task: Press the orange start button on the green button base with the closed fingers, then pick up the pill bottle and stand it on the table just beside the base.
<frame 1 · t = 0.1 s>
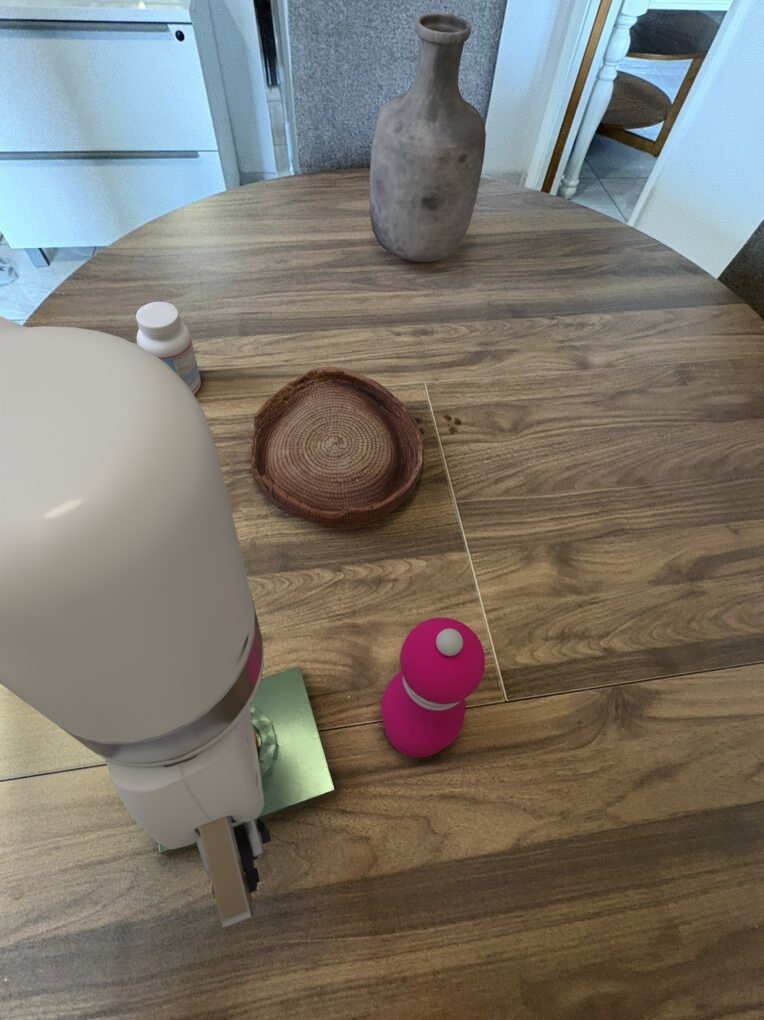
hand: (224, 758, 36), 18 cm above the table, tool pointing down, fingers open, 9 cm apart
basket: (336, 459, 74), on the table
pill bottle: (177, 387, 79), on the table
vase: (415, 250, 99), on the table
start button: (232, 744, 50), point 5 cm above the table, slide at 0.1 cm
pepper mill: (417, 723, 57), on the table
green button base: (239, 759, 54), on the table
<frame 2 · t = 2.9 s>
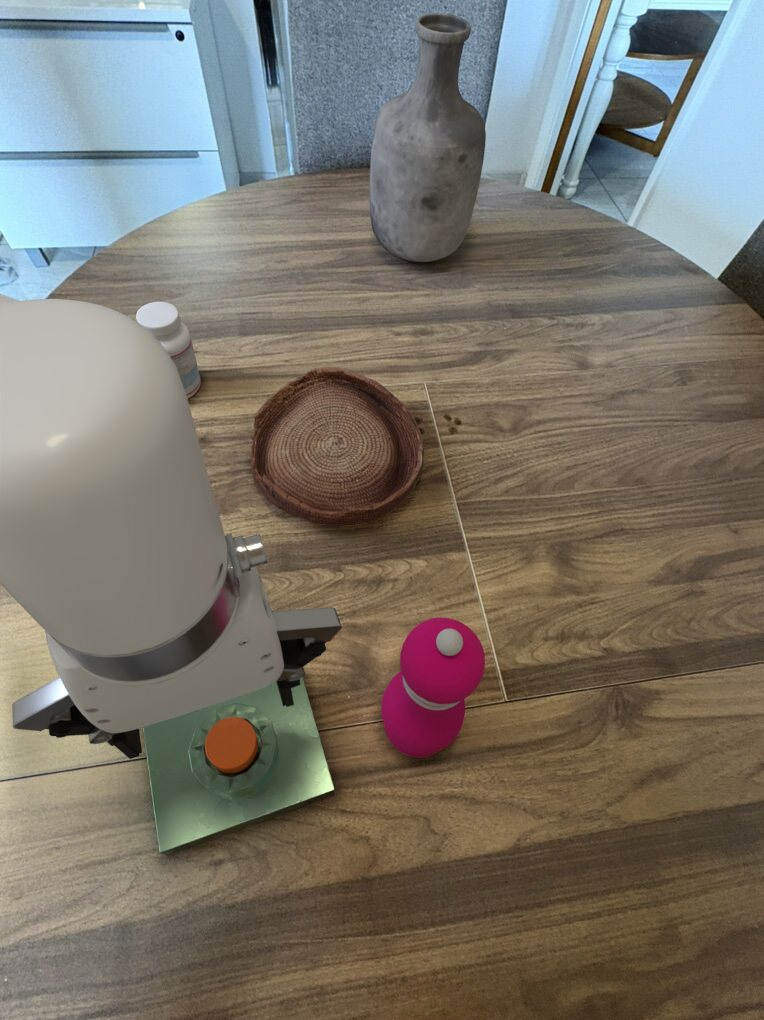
hand: (210, 708, 40), 17 cm above the table, tool pointing down, fingers open, 9 cm apart
nothing on the table moved.
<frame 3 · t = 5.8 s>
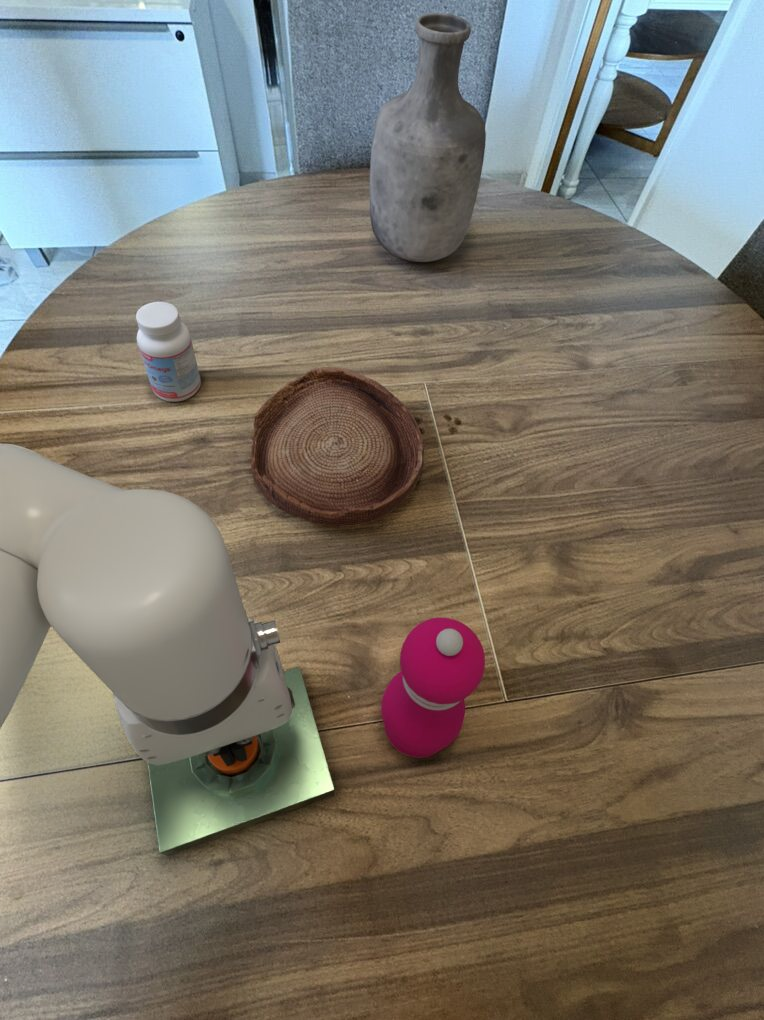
hand: (233, 744, 49), 5 cm above the table, tool pointing down, fingers closed
start button: (232, 746, 50), point 4 cm above the table, slide at -0.5 cm, touching gripper
everything else where it was.
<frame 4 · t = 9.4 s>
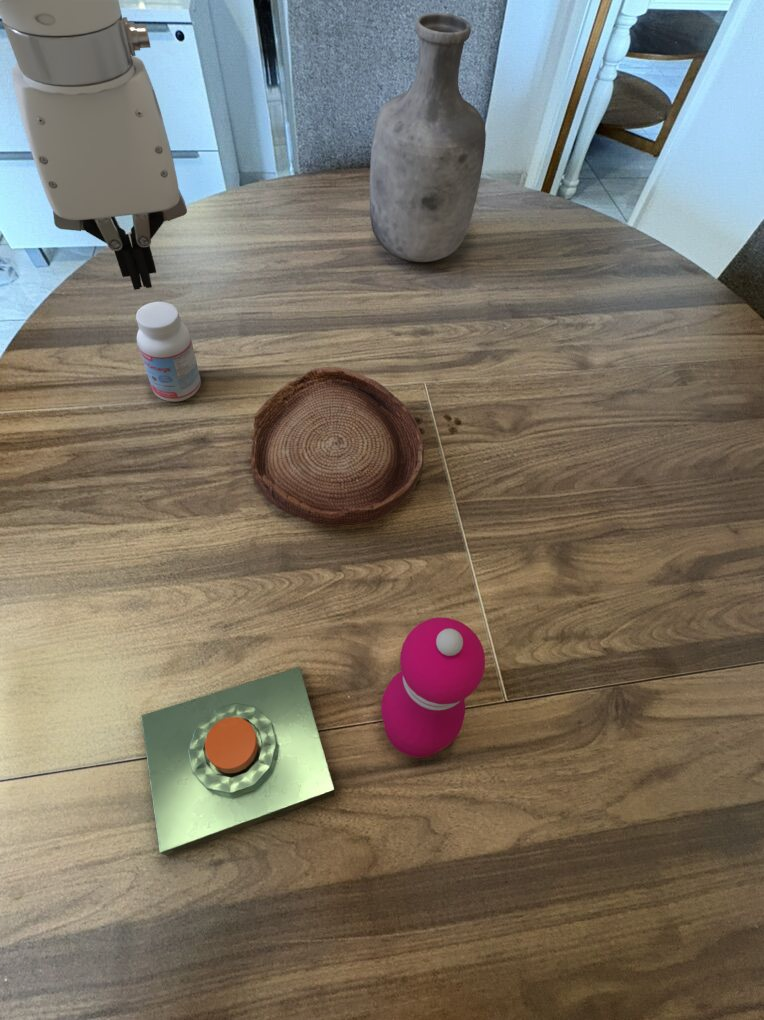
hand: (141, 279, 57), 21 cm above the table, tool pointing down, fingers closed
start button: (232, 744, 50), point 5 cm above the table, slide at 0.1 cm
everything else where it was.
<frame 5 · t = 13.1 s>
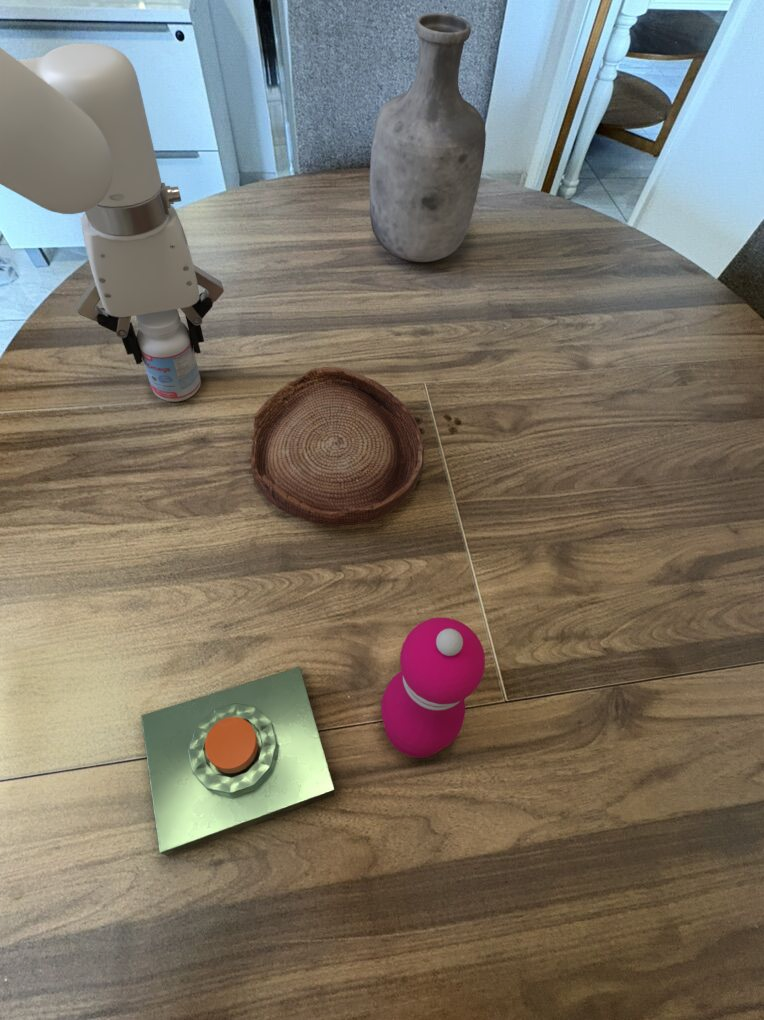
hand: (167, 349, 73), 6 cm above the table, tool pointing down, fingers closed on pill bottle, 6 cm apart
pill bottle: (177, 387, 79), on the table, touching gripper
everything else where it was.
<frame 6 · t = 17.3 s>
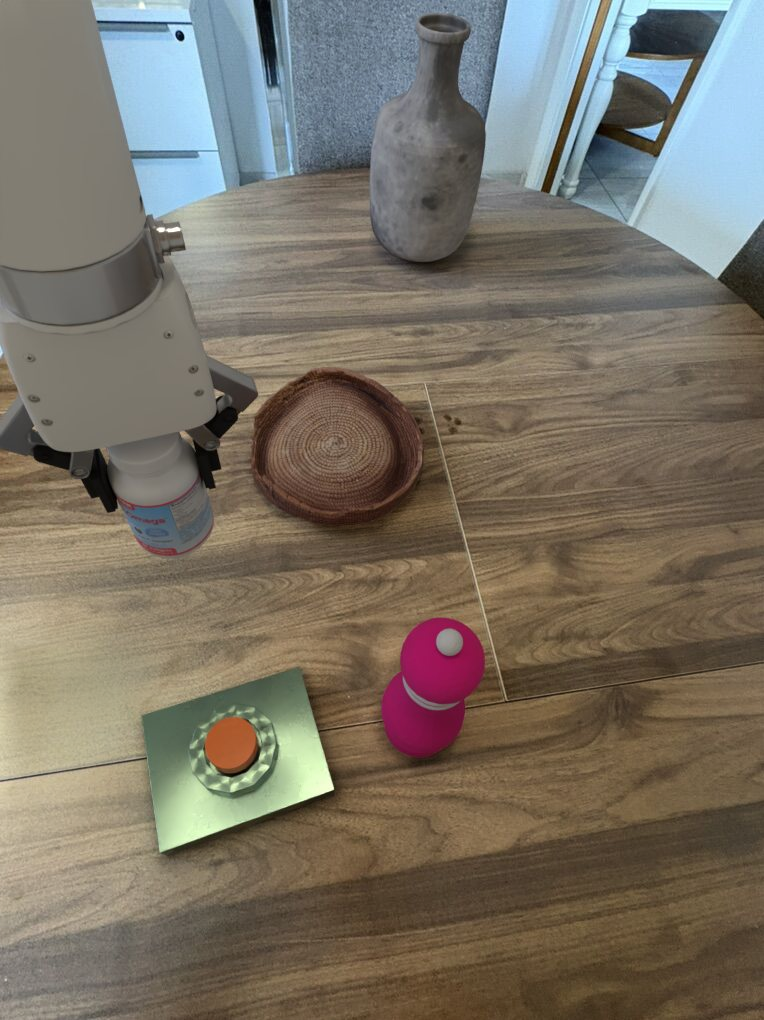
hand: (159, 483, 44), 21 cm above the table, tool pointing down, fingers closed on pill bottle, 6 cm apart
pill bottle: (177, 530, 49), point 15 cm above the table, touching gripper
everything else where it was.
when the fingers open (6 cm above the table, at t = 21.4 s): pill bottle stays where it is, on the table.
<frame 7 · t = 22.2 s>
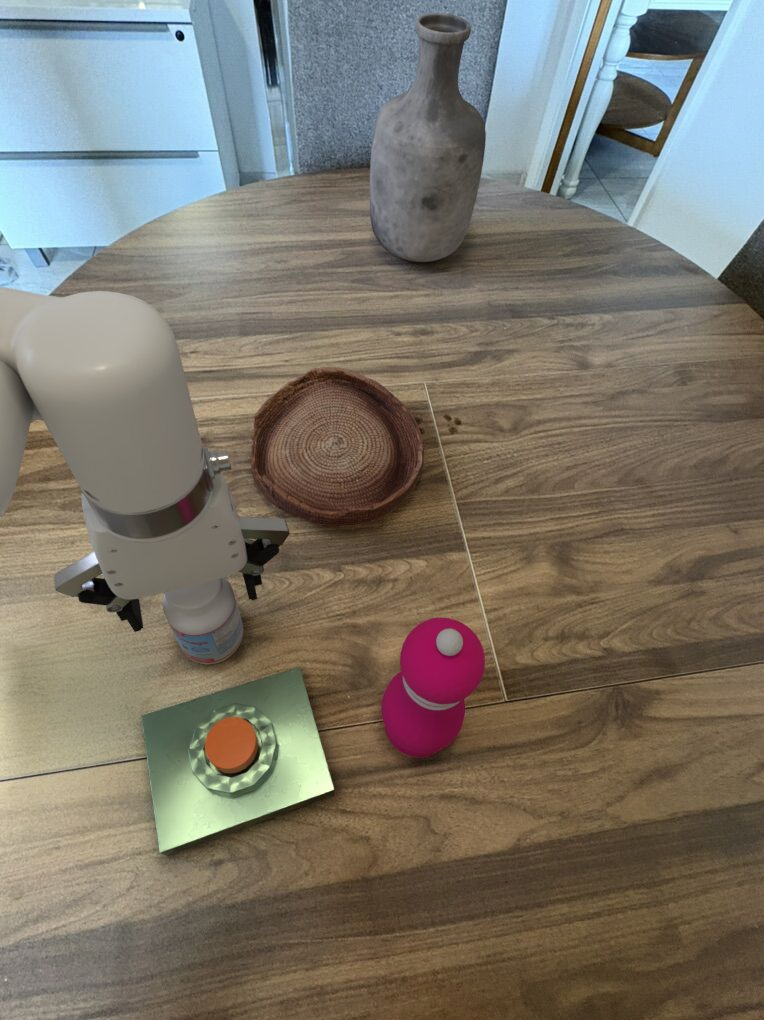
hand: (194, 600, 53), 8 cm above the table, tool pointing down, fingers open, 9 cm apart
pill bottle: (213, 637, 60), on the table
everything else where it was.
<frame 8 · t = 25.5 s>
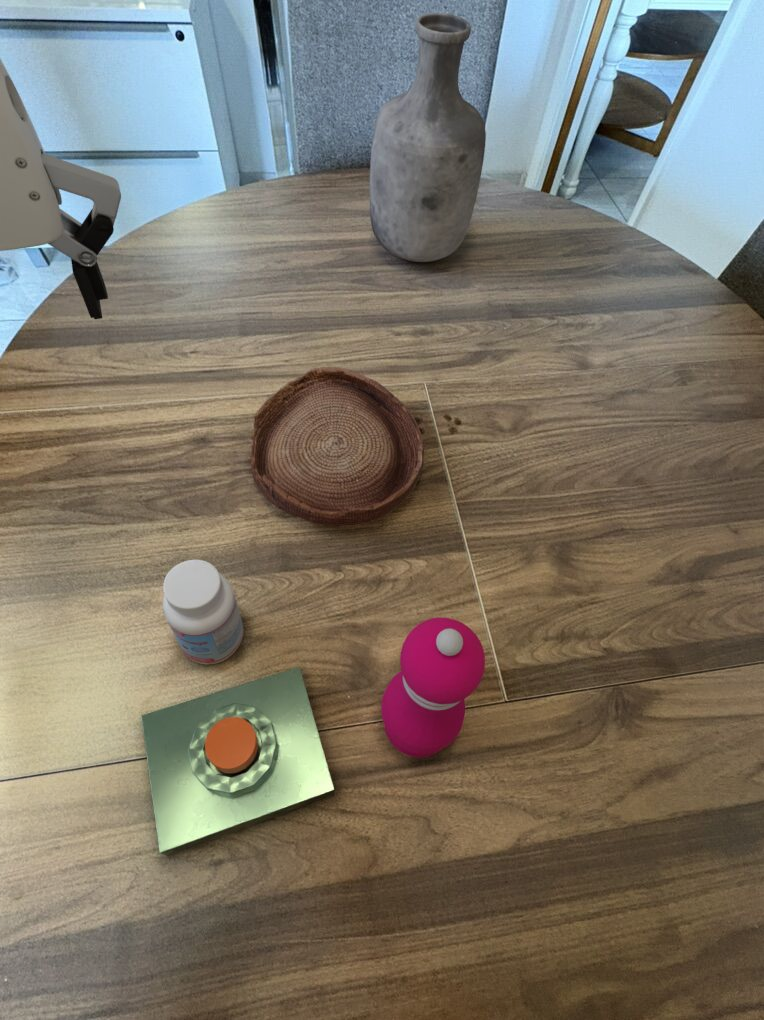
hand: (22, 318, 42), 28 cm above the table, tool pointing down, fingers open, 9 cm apart
nothing on the table moved.
at the end: start button pushed in 1.1 cm at the most during the clip, back to where it started at the end; pill bottle inside the target area on the table beside the green button base (0.5 cm from its centre), on the table; pill bottle tilted 0° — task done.
